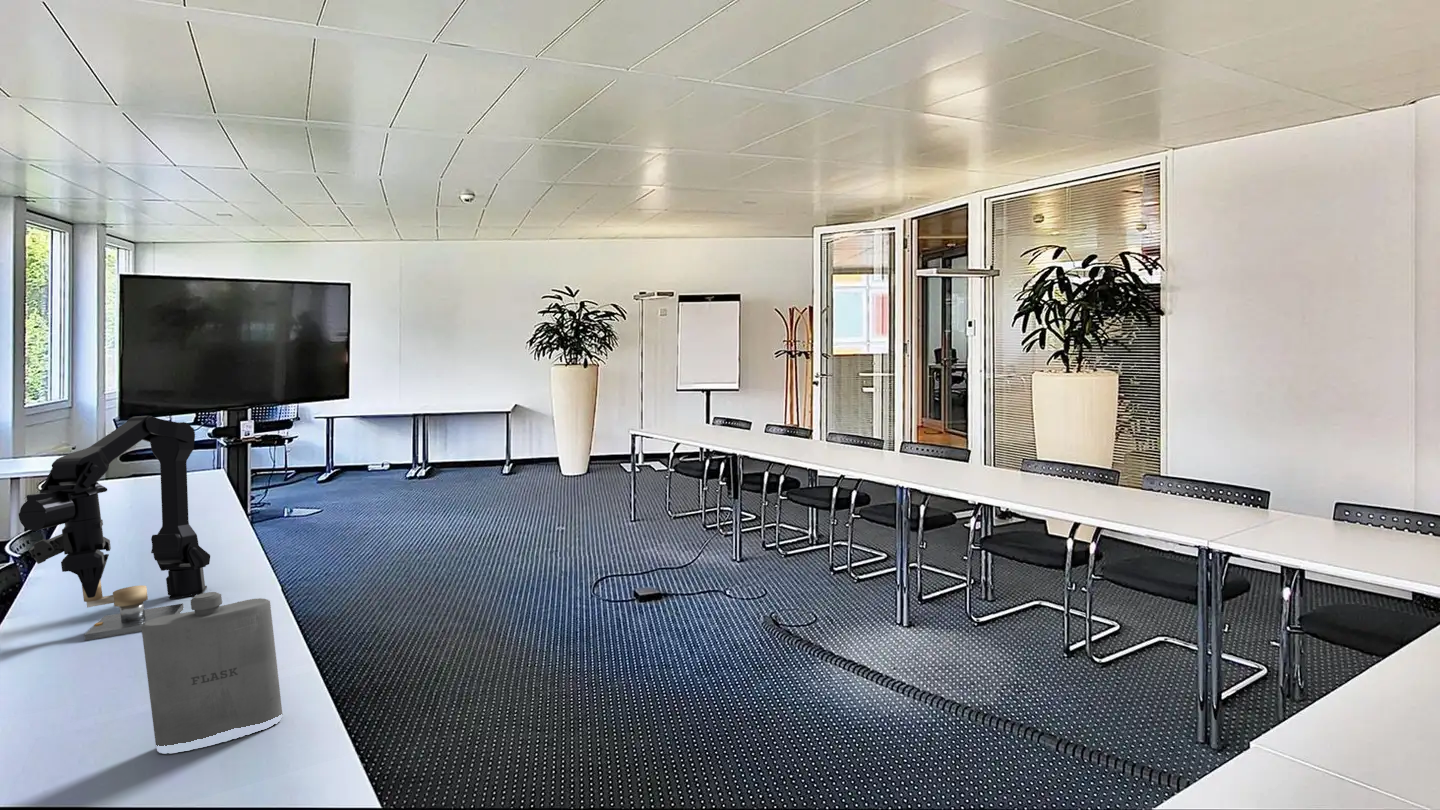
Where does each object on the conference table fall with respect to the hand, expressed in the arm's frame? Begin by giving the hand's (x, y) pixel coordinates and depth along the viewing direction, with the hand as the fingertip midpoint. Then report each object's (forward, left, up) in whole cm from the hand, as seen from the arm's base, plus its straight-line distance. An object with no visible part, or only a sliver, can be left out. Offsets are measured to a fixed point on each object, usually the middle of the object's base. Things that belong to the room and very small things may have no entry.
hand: (92, 595), depth 162 cm
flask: (-32, +69, -8) cm, 77 cm away
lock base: (-6, -1, -8) cm, 10 cm away
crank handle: (-4, -1, -3) cm, 5 cm away
